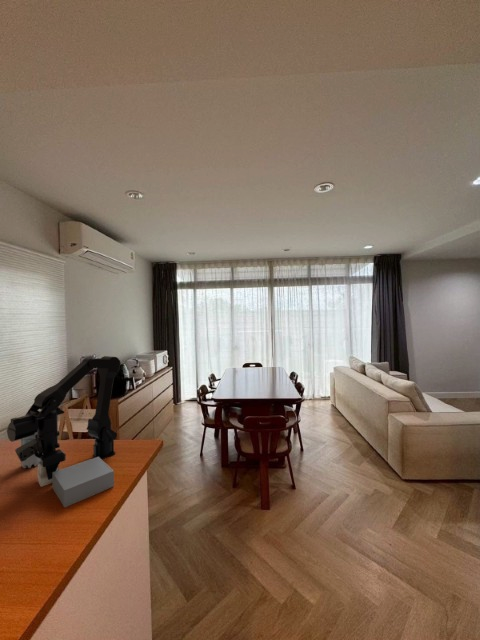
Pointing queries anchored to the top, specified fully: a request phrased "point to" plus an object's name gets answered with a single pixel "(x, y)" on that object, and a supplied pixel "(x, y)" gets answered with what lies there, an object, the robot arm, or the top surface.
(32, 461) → the bottle
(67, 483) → the plinth
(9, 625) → the top surface
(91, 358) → the robot arm
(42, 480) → the cream block
